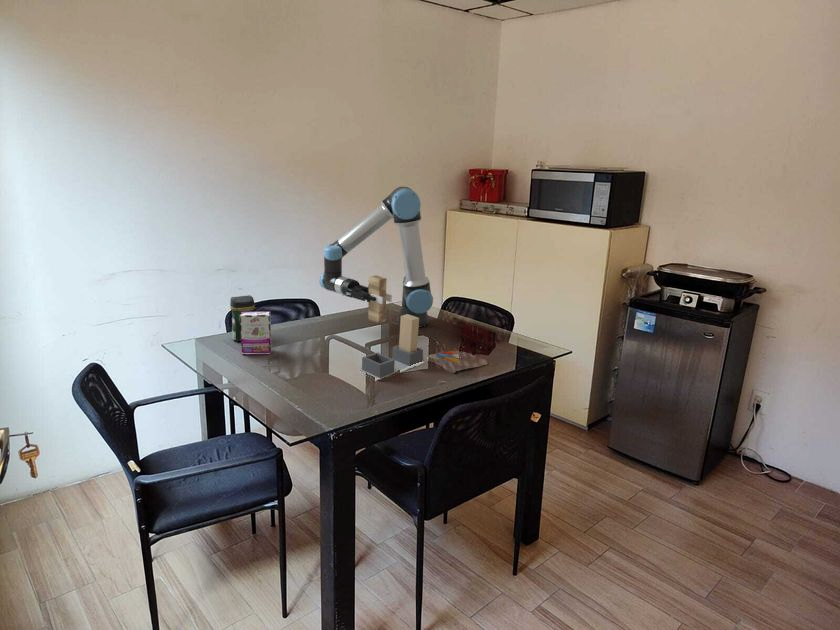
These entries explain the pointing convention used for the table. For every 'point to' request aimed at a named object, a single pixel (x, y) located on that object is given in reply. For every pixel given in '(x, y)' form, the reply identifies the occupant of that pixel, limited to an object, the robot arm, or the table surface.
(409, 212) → the robot arm
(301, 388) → the table surface
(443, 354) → the wooden puzzle
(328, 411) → the table surface
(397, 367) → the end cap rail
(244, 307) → the coffee jar
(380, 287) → the oak slat
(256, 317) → the candy bar box
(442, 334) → the table surface
